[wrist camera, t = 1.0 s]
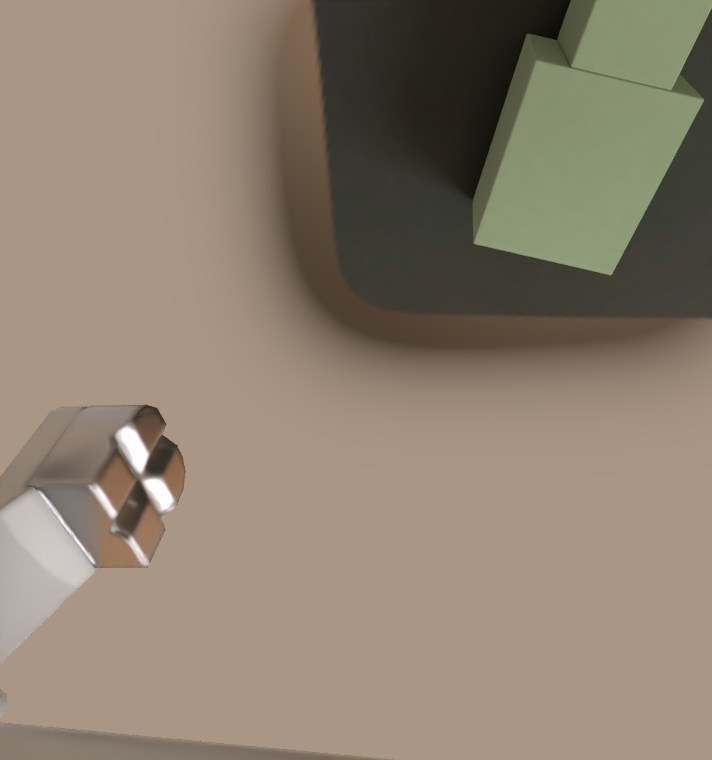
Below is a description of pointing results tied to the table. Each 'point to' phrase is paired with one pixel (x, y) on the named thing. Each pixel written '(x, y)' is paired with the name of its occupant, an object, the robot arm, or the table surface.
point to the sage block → (589, 131)
